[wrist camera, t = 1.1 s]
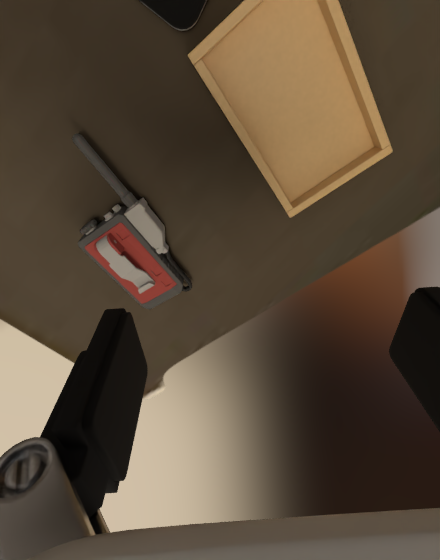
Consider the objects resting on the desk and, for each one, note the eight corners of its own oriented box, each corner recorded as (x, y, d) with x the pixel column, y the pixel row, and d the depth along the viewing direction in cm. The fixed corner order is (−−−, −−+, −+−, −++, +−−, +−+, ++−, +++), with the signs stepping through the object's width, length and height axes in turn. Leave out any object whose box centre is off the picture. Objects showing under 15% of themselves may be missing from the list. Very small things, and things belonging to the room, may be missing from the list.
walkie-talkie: (206, 273, 37) (87, 125, 27) (206, 294, 33) (69, 132, 24) (153, 303, 40) (26, 177, 30) (147, 326, 36) (1, 190, 26)
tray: (188, 57, 25) (187, 55, 23) (305, -56, 21) (314, -68, 20) (285, 211, 33) (290, 218, 31) (382, 147, 29) (393, 151, 28)
